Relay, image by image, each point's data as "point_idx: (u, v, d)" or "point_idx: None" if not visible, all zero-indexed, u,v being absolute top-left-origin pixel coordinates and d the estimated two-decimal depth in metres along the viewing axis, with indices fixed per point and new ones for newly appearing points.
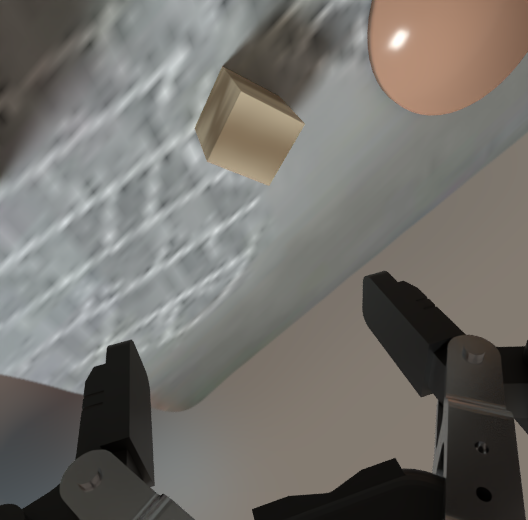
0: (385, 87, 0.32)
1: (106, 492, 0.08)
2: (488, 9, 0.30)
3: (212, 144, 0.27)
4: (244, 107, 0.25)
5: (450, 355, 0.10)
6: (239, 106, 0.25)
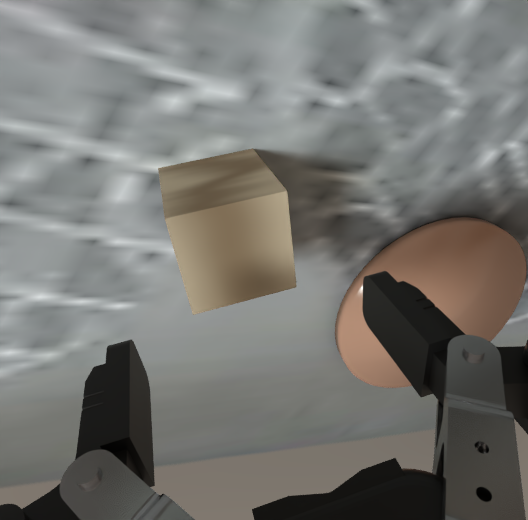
0: (347, 314, 0.27)
1: (106, 491, 0.08)
2: None
3: (189, 207, 0.16)
4: (270, 209, 0.17)
5: (450, 355, 0.10)
6: (268, 202, 0.17)
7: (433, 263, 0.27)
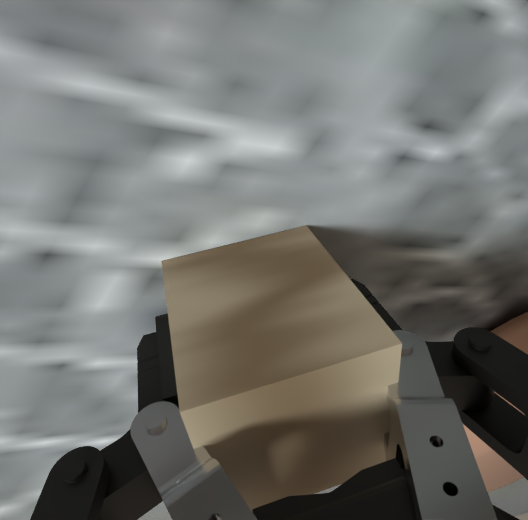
0: None
1: (167, 441, 0.09)
2: None
3: (224, 377, 0.09)
4: (370, 373, 0.09)
5: None
6: (367, 364, 0.09)
7: None
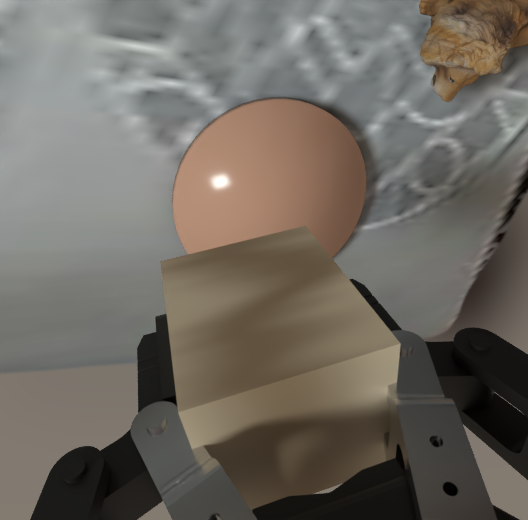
0: (174, 198, 0.28)
1: (167, 441, 0.09)
2: (290, 218, 0.31)
3: (223, 378, 0.09)
4: (368, 373, 0.09)
5: None
6: (366, 364, 0.09)
7: (254, 143, 0.28)
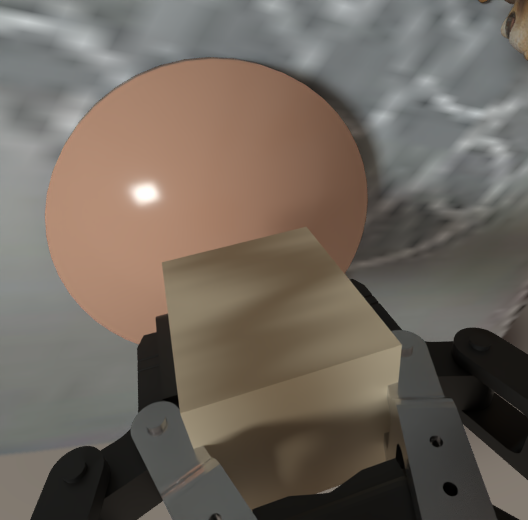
0: (47, 222, 0.17)
1: (167, 441, 0.09)
2: None
3: (225, 379, 0.09)
4: (369, 373, 0.09)
5: None
6: (367, 365, 0.09)
7: (182, 135, 0.16)
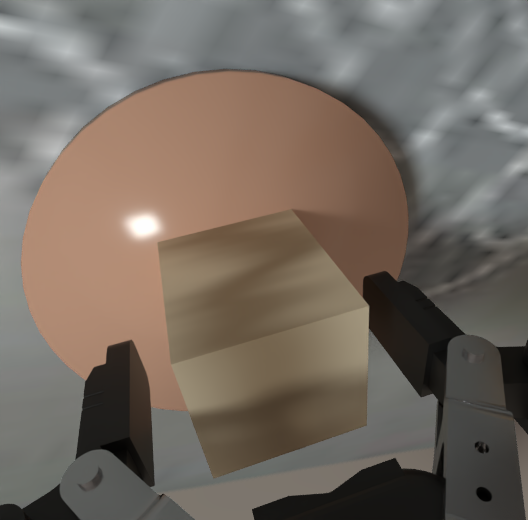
0: (24, 271, 0.13)
1: (106, 491, 0.08)
2: None
3: (211, 336, 0.10)
4: (341, 333, 0.10)
5: (450, 355, 0.10)
6: (338, 325, 0.10)
7: (191, 165, 0.13)
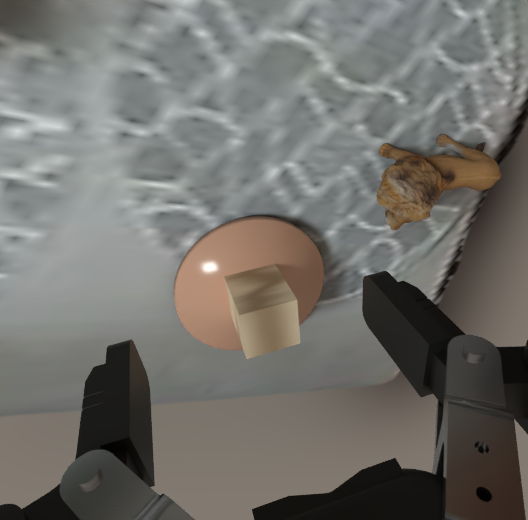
0: (176, 287, 0.37)
1: (106, 492, 0.08)
2: None
3: (249, 308, 0.33)
4: (288, 308, 0.34)
5: (450, 355, 0.10)
6: (287, 305, 0.34)
7: (239, 249, 0.37)
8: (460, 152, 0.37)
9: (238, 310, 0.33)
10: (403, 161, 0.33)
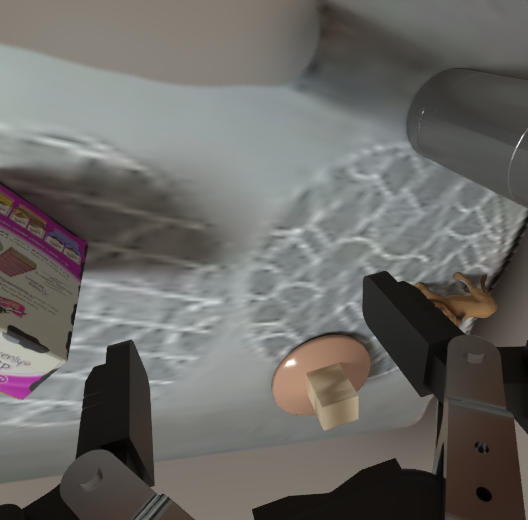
0: (275, 381, 0.56)
1: (106, 492, 0.08)
2: None
3: (328, 401, 0.52)
4: (352, 400, 0.53)
5: (450, 355, 0.10)
6: (352, 399, 0.52)
7: (316, 357, 0.55)
8: (469, 289, 0.55)
9: (321, 403, 0.52)
10: None
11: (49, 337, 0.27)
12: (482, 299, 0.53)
